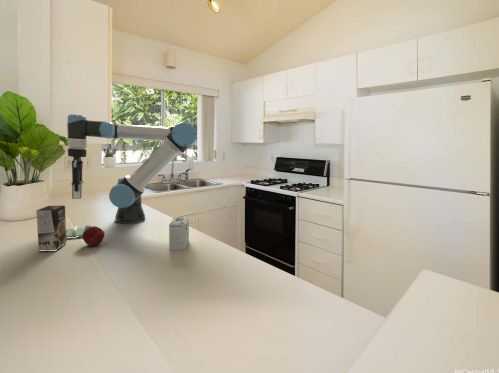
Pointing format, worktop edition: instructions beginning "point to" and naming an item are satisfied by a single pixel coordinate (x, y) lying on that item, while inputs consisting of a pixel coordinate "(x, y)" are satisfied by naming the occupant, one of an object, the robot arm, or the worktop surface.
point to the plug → (80, 191)
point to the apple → (93, 236)
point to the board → (76, 231)
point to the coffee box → (51, 227)
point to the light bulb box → (178, 234)
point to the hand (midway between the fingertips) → (77, 197)
